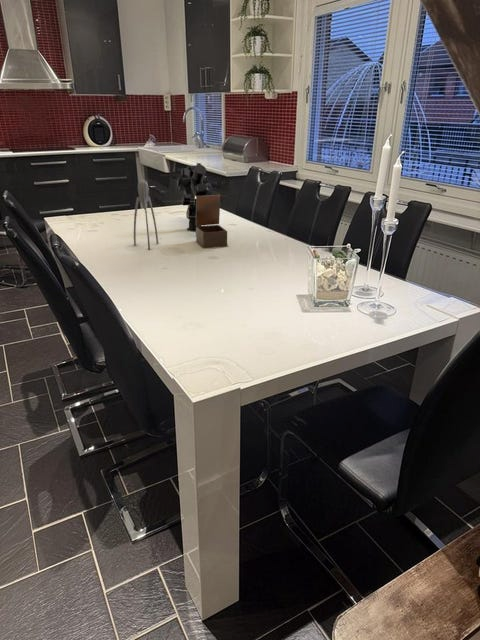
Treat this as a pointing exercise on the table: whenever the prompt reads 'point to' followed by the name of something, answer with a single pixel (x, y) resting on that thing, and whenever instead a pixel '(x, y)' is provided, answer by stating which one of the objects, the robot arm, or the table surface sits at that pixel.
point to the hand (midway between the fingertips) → (204, 213)
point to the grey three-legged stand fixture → (143, 199)
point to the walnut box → (211, 236)
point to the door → (207, 210)
